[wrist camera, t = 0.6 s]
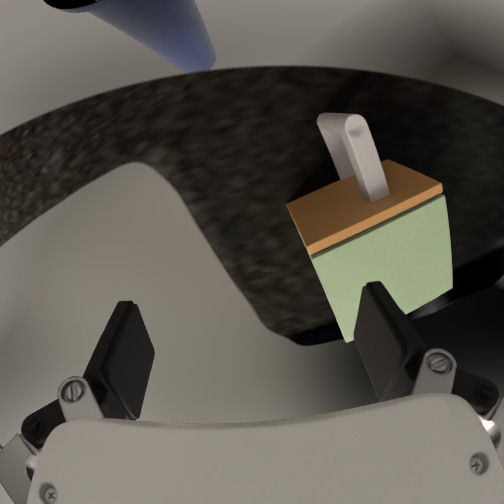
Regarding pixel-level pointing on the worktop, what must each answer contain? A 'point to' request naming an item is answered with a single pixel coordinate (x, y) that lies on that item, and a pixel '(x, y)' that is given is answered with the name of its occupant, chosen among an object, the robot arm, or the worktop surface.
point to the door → (356, 186)
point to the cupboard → (389, 262)
